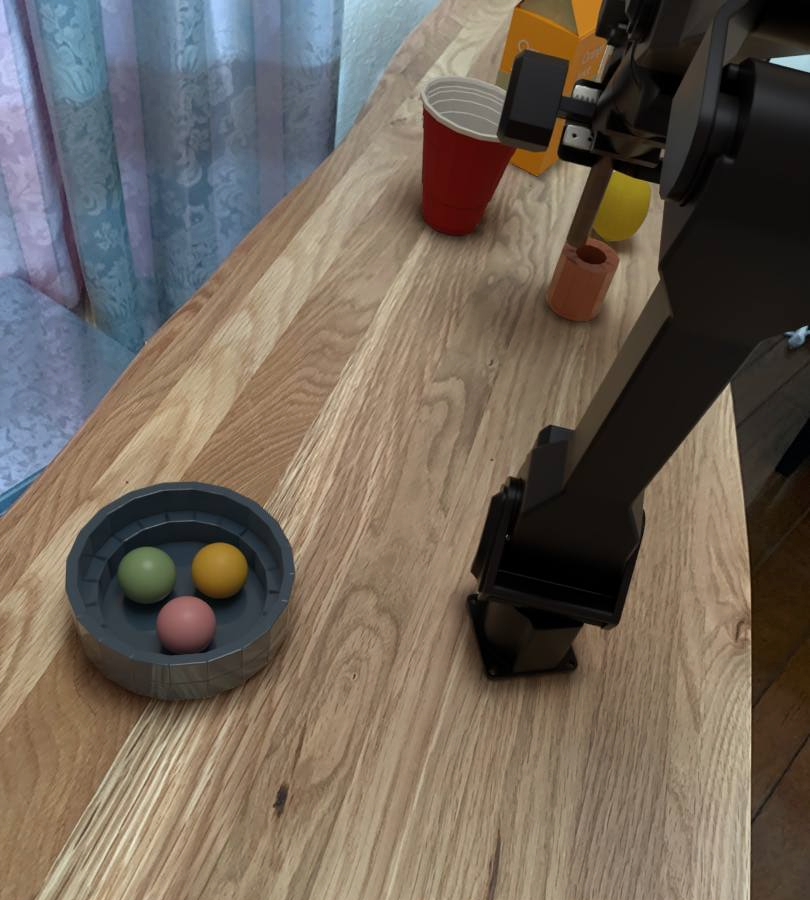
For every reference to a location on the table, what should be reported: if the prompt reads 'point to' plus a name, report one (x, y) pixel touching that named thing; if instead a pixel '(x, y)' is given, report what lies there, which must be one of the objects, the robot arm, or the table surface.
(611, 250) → the holder
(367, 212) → the table surface
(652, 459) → the robot arm
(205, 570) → the bead
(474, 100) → the plastic cup
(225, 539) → the bowl
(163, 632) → the bead
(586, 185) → the stick
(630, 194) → the lemon
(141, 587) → the bead
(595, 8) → the orange juice
